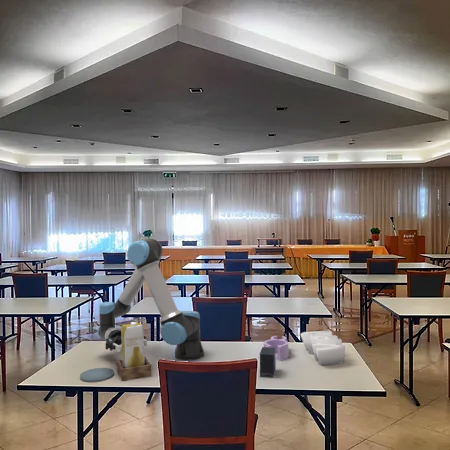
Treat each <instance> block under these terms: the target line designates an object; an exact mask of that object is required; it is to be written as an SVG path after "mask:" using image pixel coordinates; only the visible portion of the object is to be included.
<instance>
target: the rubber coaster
mask: <svg viewBox="0 0 450 450" xmlns="http://www.w3.org/2000/svg"><path fill="white" fill-rule="evenodd" d="M114 375H115V370H114V369H113V368H109V367H96V368H90V369H87V370H85V371H83V372H81V373H80V375H79V379H80V380H81V381H83V382H86V383H98V382H103V381H107V380H110V379H111V378H113V377H114Z"/></svg>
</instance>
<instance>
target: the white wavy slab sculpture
mask: <svg viewBox="0 0 450 450" xmlns="http://www.w3.org/2000/svg"><path fill="white" fill-rule="evenodd" d="M338 337H339V336H337V335H335V334H333V331H332V330H318V331H317V330H316V331H303V332H301V333H300V338H301V341H302V343H303V346H304V348H305V351H307V352H308V354H309V355H314V359H315V361H316V362H317V363H318V365H320V366H328V365H336V364H340V363H343V362H344V361H345V351H346V350H345V349H346V345H343V340H342V339H341V338H338Z"/></svg>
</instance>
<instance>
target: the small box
mask: <svg viewBox="0 0 450 450" xmlns="http://www.w3.org/2000/svg"><path fill="white" fill-rule="evenodd" d="M276 356H277V355H276V353H275V348H269V347H264V346H262V348H261V350H260V352H259V377H261V378H274V377H275V372H276V367H277V366H276V365H277V364H276V363H277V361H276V359H277V358H276Z"/></svg>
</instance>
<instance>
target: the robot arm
mask: <svg viewBox="0 0 450 450" xmlns="http://www.w3.org/2000/svg"><path fill="white" fill-rule="evenodd" d="M163 253H164V251H163V246H162V243H160V242H159V241H158V240H156V239H154V238H149V239H139V240H136V241H134V242H132V243H131V244H129V247H128V249H127V253H126V255H127V256H126V257H127V260H128V261H129V263H131V265H134V266H135V269H134V271H133V273H132V274H131V276H130V278H129V279H128V281H127V283H126V284H125V287H124V288H123V290H122V291H121V293H120V295H119V296H118V299H117V300H116V302H113V301H104V302H101V303H100V304H99V310H98V313H99V314H98V315H99V326H98V328H97V335H98V337H99V338H100V339H101V340H103V341H105V344H104V345H105V350H109V351H110V352H111V351H113V350H114V351H115V352H117V353H121V346H122V340H121V330H119V329H118V328H116V324H115V323H116V320H115V319H116V318H117V319H118V318H119V317H122V316H125V315H127V314H128V313H130V312H131V310H132V303H133V302H134V300H135V298H136V297H137V295H138V293H139V292H140V291H141V288H142V287H143V285H144V284H145V282H146V284H147V287H148V289H149V292H150V293H151V296H152V298H153V300H154V303H155V306H156V308H157V311H158V312H159V315H160V317H161V318H160V320H159V323H160V326H161V329H160V336H161V338H162V339H163V341H164V342H165V343H166V344H168V345H169V346H175V350H174V358H175V359H177V360H181V361H195V360H199V359H201V358H203V357H204V356H205V351H204V347H203V345H202V342H201V321H200V320H201V317H200V313H199V312H198V311H194V310H179V309H178V307H177V305H176V303H175V301H174V298H173V296H172V294H171V292H170V289H169V286H168V284H167V283H166V280H165V278H164V275H163V273H162V271H161V269H160V266H159V265H160V264H159V263H160V262H161V261H160V260H161V258H162V257H163V256H162V255H163ZM144 347H148V340H147V338H146V335H144Z"/></svg>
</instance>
